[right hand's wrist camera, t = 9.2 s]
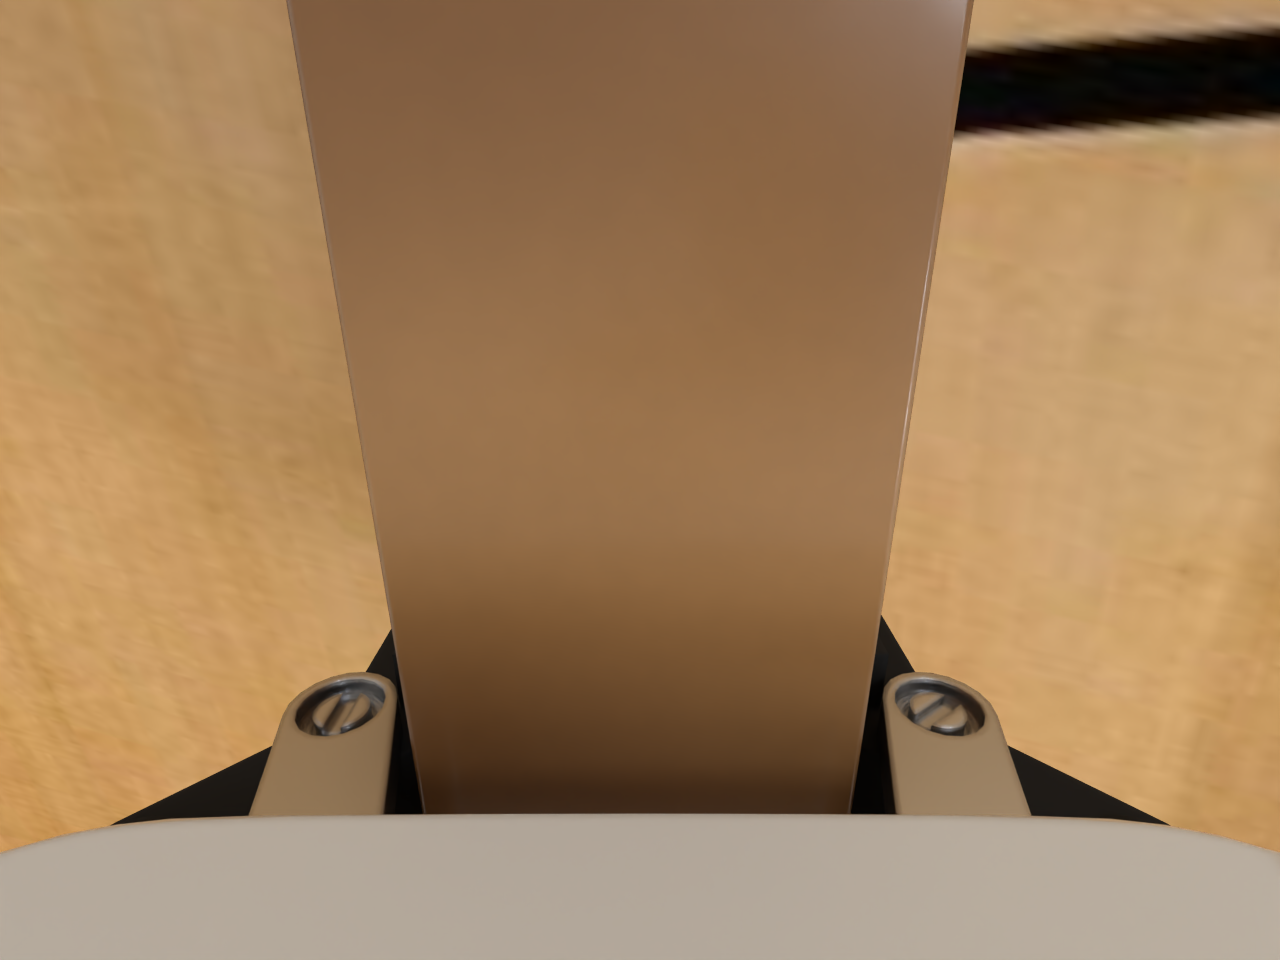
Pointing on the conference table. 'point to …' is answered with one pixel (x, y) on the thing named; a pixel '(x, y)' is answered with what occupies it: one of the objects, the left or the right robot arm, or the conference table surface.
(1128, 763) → the conference table surface
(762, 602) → the beam
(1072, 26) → the conference table surface
